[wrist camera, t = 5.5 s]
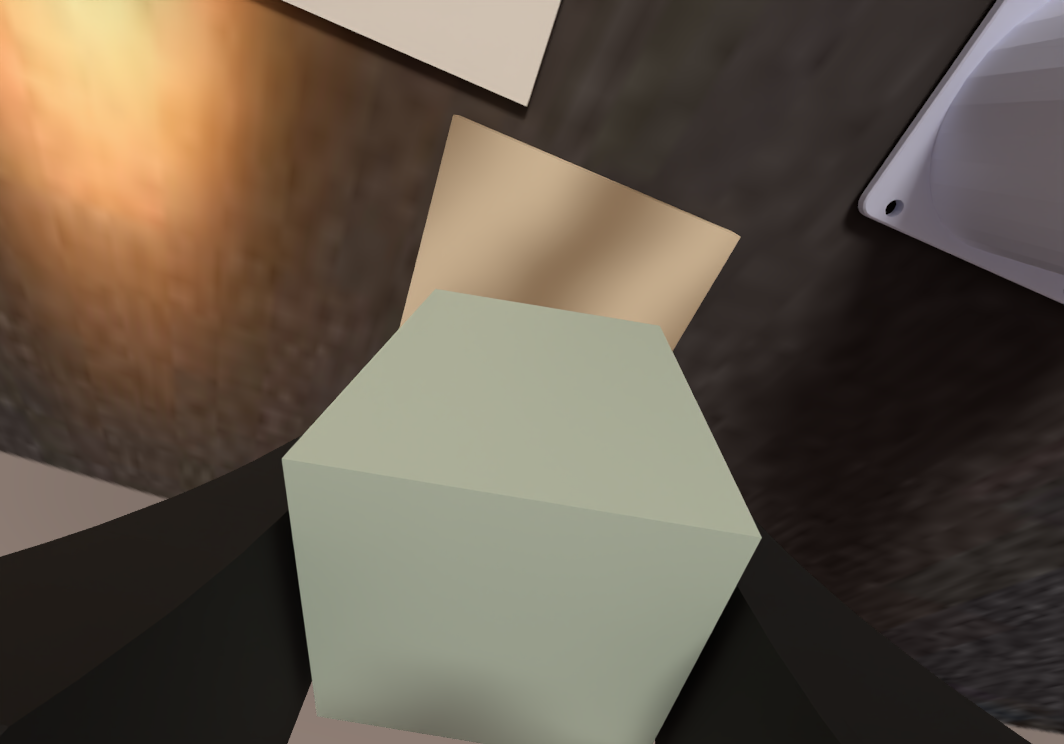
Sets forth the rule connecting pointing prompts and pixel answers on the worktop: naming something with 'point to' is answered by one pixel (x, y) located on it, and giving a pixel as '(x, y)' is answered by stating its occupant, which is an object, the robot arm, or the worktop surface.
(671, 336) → the birch board
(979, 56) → the robot arm
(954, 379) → the worktop surface
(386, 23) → the tile
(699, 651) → the sage block
